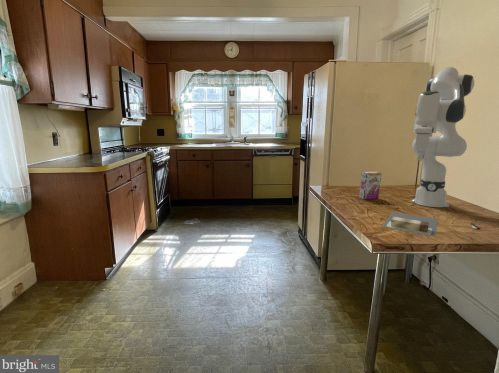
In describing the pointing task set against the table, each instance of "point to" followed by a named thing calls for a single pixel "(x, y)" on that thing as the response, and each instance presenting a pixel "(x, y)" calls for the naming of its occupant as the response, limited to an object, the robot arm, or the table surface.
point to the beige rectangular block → (410, 224)
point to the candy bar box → (370, 185)
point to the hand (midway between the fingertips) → (420, 159)
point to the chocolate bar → (474, 226)
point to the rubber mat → (431, 221)
